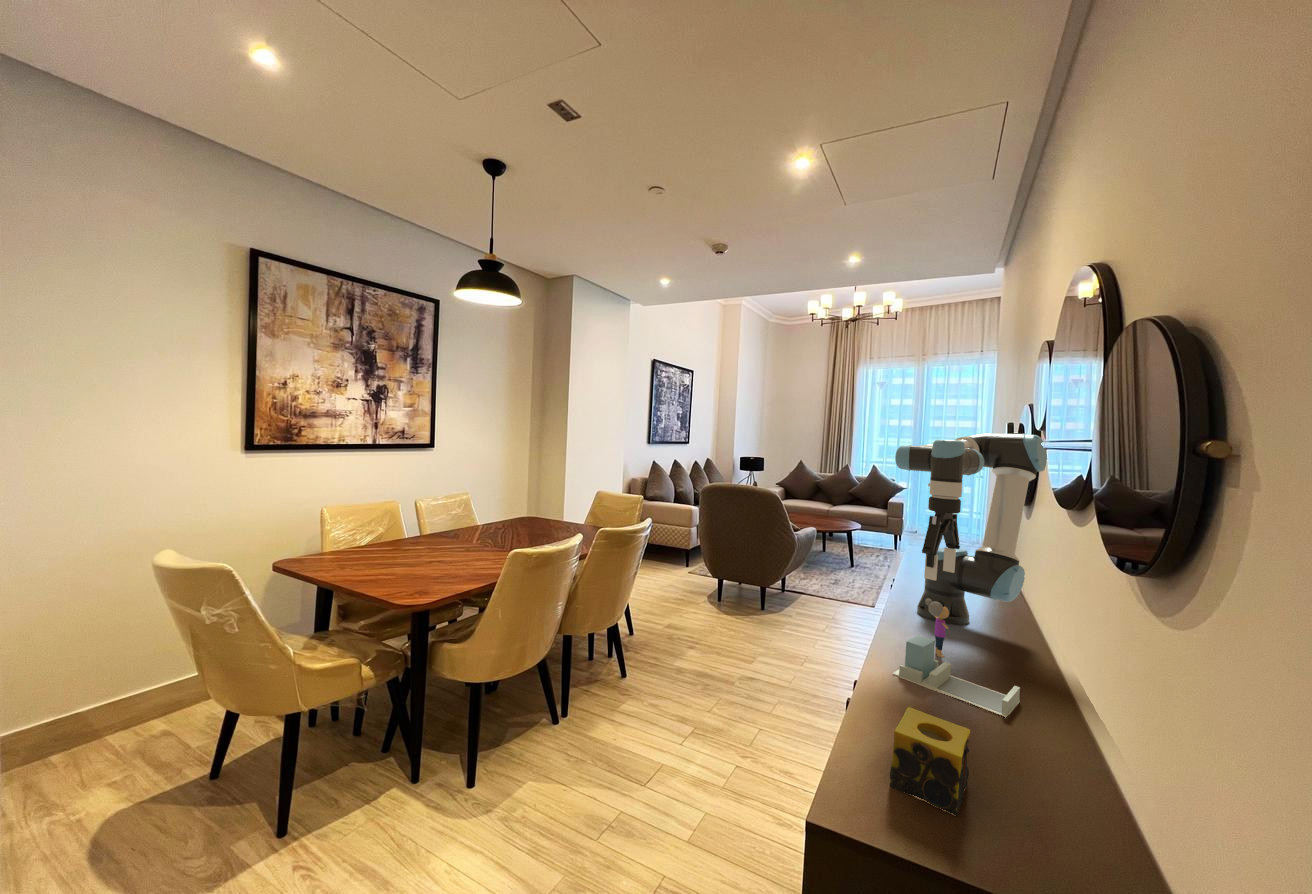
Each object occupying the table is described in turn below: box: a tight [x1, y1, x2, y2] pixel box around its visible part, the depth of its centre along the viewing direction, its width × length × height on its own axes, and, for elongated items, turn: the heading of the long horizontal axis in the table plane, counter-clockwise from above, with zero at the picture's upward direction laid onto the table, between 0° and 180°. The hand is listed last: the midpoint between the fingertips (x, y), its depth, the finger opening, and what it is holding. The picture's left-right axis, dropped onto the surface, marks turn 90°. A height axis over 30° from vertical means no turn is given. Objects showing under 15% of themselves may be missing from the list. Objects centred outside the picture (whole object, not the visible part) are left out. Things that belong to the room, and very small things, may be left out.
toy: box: [925, 598, 949, 658], centre depth 136 cm, size 10×6×15 cm, turn 168°
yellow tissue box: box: [889, 706, 971, 816], centre depth 83 cm, size 10×10×10 cm
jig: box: [892, 659, 1021, 719], centre depth 118 cm, size 11×24×4 cm, turn 42°
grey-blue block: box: [904, 634, 936, 679], centre depth 124 cm, size 7×4×8 cm, turn 131°
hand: (939, 575), depth 136 cm, fingers open, 13 cm apart
